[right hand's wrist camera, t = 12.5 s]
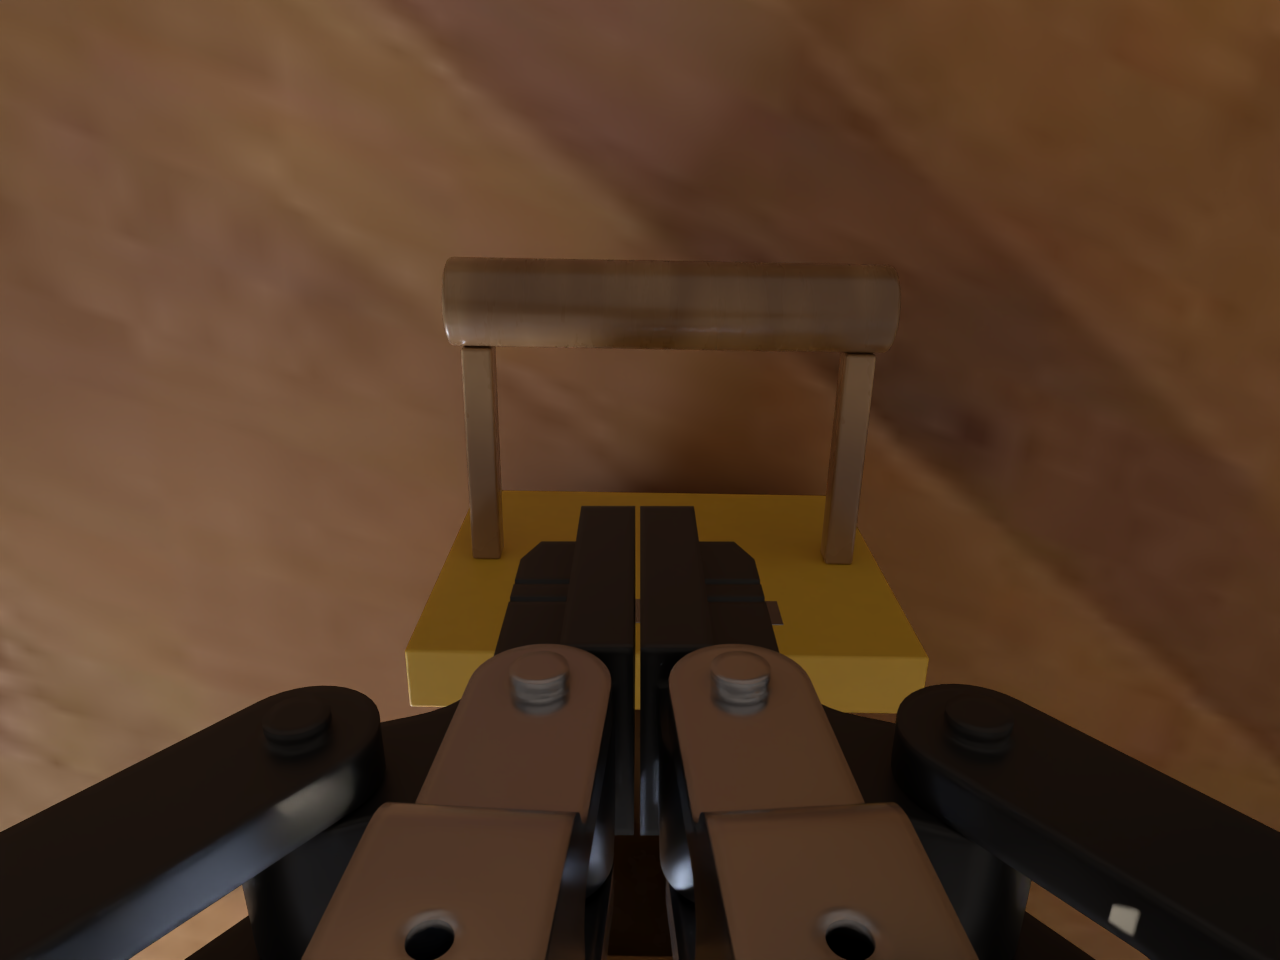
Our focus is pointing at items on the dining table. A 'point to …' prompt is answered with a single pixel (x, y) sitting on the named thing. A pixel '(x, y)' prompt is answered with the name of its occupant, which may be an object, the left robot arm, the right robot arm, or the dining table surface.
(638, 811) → the drawer
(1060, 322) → the dining table surface
